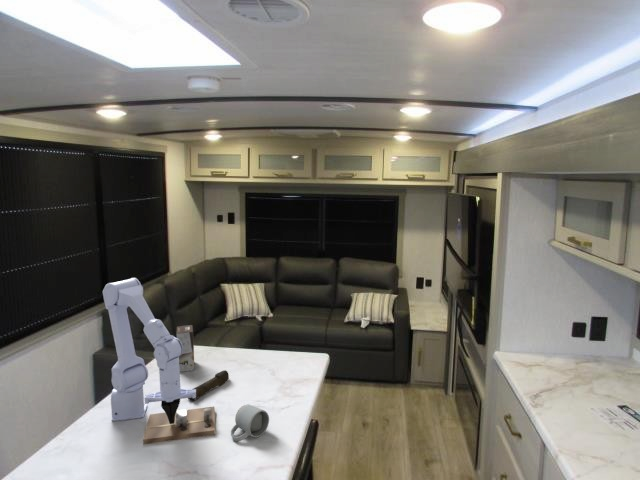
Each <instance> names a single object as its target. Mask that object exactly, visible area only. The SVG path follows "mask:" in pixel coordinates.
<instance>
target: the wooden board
mask: <svg viewBox="0 0 640 480" xmlns="http://www.w3.org/2000/svg"><path fill="white" fill-rule="evenodd" d="M176 414H177V411H176ZM176 414H175V421H174V424H169V419H168V417H167V415H166V413H165V412H160V413H150V414H149V415H148V419H147V423H146V427H145V431H144V434H143V438H142V444H143V446H144V445H151V444H156V443H164V442H172V441H180V440H186V439H187V440H188V439H195V438H201V437H207V436H215V435H216V424H215V423H216V421H215V420H216V416H215V415H216V413H215V406H209V407H202V408H201V407H200V408H199V407H198V408H192V409H187V417H188V419H187V425H185V426H177V427H176Z"/></svg>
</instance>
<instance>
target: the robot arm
mask: <svg viewBox="0 0 640 480" xmlns="http://www.w3.org/2000/svg"><path fill="white" fill-rule="evenodd" d="M143 295H144V287H143V285H142V284H141V281H139V279H138V278H137V277H131V278H128V279H124V280H120V281H115V282H108V283H107V284H105V286H104V288H103V290H102V296H103V301H104V306H105V309H106V310H107V311H108V315H109V320H110V325H111V331H112V336H113V340H114V346H115V349H116V350H115V351H116V354H117V361H116V363H115V364H114V365H113V366H112V368H111V384H112V386H113V389H112V390H111V395H110V406H111V422H117V421H124V420H133V419H139V418H140V419H142V418H144V417H145V414H146V410H147V408H148V404H150V403H156V402H160V407H161V409H162V410H163V411H164V413H166V415H167V417H168V419H169V424H174V421H175V414H176V411H177V410H179V406H180V403H181V400H183V399H188V398H196V389H194V388H192V389H193V390H192V389H188V388H186V389H184V388H183V389H182V388H181V372H180V368H179V356H180V355H182V353H183V346H182V343H181V342H180V340H179V339H178V338H177V337H175V336H174V335H171V334H170V332H169V330H168V329H167V327H166V326H165V324H164V323H163V321H162V319H159V318H158V319H157V318H155V316H154V314H153V312H152V310H151V309H150V307H149V305H148V303H147V301H146V299H145V298H144V296H143ZM128 308H130V309H131V310H132V311H133V313H134V314H135V315H136V317H137V318H138V319H139V320H140V322H141V323H142V324H143V326H144V327H143V332H144V335H145V336H146V338H147V339H148V341H149V342H150V344H151V345H152V347H153V348H154V351H153V357H154V358H155V361H156V366H157V368H159V369H158V371H159V373H158V374H159V387H160V388H159V389H160V391H158V392H154V393H151V394H150V393H149V394H145V396H144V385H145V384H146V381H147V380H148V377H149V369H148V368H147V366H146V364H145V360H144V359H143V358H142V357H140V356H138V355H137V354H136V349H135V345H134V339H133V335H132V330H131V325H130V319H129V314H128V311H127V310H128Z"/></svg>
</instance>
